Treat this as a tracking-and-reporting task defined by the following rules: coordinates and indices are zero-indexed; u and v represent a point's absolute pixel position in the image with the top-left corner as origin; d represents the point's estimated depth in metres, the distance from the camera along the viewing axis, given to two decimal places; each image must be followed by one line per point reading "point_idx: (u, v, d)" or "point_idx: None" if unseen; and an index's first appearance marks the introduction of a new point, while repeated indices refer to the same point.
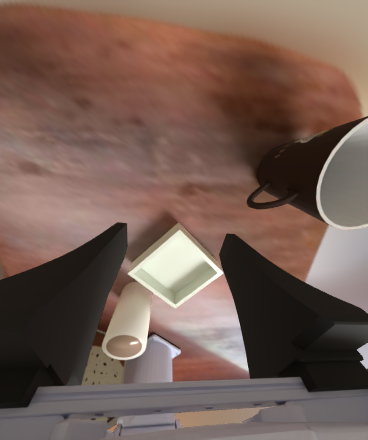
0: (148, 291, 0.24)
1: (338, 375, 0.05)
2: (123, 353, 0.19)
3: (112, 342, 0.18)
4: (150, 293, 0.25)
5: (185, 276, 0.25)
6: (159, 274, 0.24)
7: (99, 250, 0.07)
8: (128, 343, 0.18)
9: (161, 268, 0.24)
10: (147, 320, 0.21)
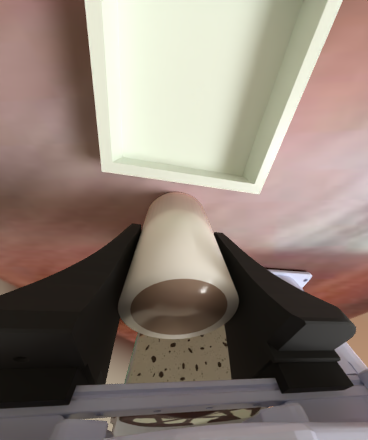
0: (185, 198, 0.11)
1: (313, 376, 0.05)
2: (192, 323, 0.07)
3: (143, 313, 0.07)
4: (192, 200, 0.12)
5: (239, 110, 0.09)
6: (180, 148, 0.10)
7: (121, 252, 0.07)
8: (183, 298, 0.06)
9: (172, 127, 0.09)
10: (205, 236, 0.08)
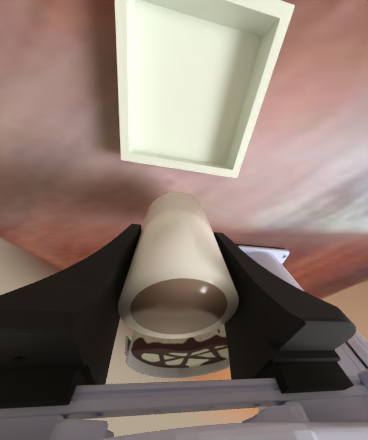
0: (185, 198, 0.11)
1: (313, 376, 0.05)
2: (192, 323, 0.07)
3: (142, 313, 0.07)
4: (192, 200, 0.12)
5: (221, 115, 0.13)
6: (177, 143, 0.13)
7: (121, 252, 0.07)
8: (183, 298, 0.06)
9: (171, 128, 0.13)
10: (205, 235, 0.08)
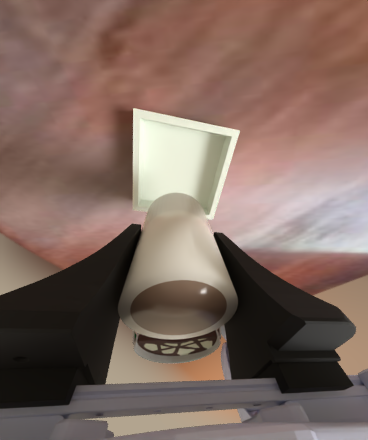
0: (185, 199, 0.11)
1: (313, 376, 0.05)
2: (191, 324, 0.07)
3: (142, 314, 0.07)
4: (192, 201, 0.12)
5: (201, 178, 0.18)
6: None
7: (121, 252, 0.07)
8: (182, 299, 0.06)
9: (167, 186, 0.19)
10: (205, 237, 0.08)
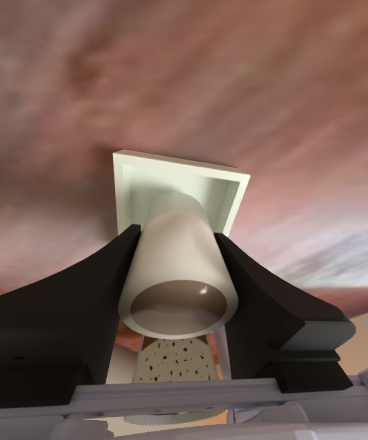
0: (185, 198, 0.11)
1: (313, 376, 0.05)
2: (192, 324, 0.07)
3: (142, 314, 0.07)
4: (192, 201, 0.12)
5: None
6: None
7: (121, 252, 0.07)
8: (183, 299, 0.06)
9: None
10: (205, 236, 0.08)
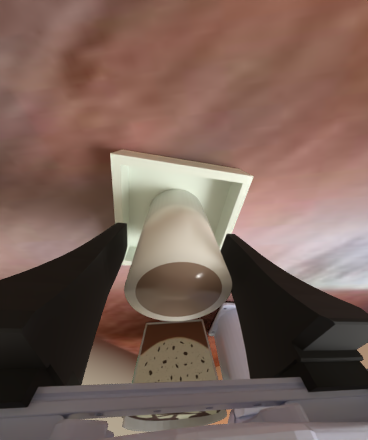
0: (184, 194, 0.12)
1: (338, 375, 0.05)
2: (190, 306, 0.08)
3: (146, 295, 0.07)
4: (191, 196, 0.12)
5: None
6: None
7: (99, 250, 0.07)
8: (182, 281, 0.07)
9: None
10: (203, 227, 0.09)
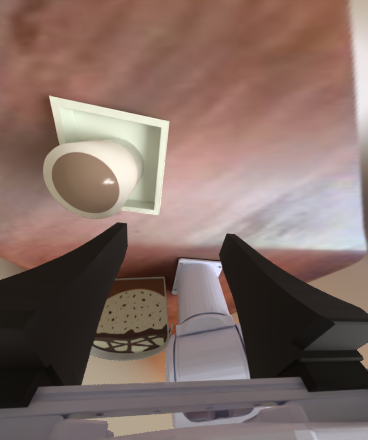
0: (119, 139, 0.15)
1: (338, 375, 0.05)
2: (100, 201, 0.11)
3: (62, 186, 0.10)
4: (126, 142, 0.15)
5: (145, 172, 0.18)
6: None
7: (99, 250, 0.07)
8: (86, 174, 0.10)
9: None
10: (114, 148, 0.11)
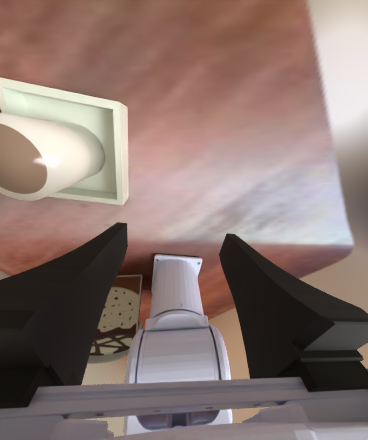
0: (73, 124, 0.14)
1: (338, 375, 0.05)
2: (27, 180, 0.10)
3: None
4: (80, 127, 0.15)
5: (107, 160, 0.17)
6: None
7: (99, 250, 0.07)
8: (7, 148, 0.09)
9: None
10: (50, 125, 0.11)
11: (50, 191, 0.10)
